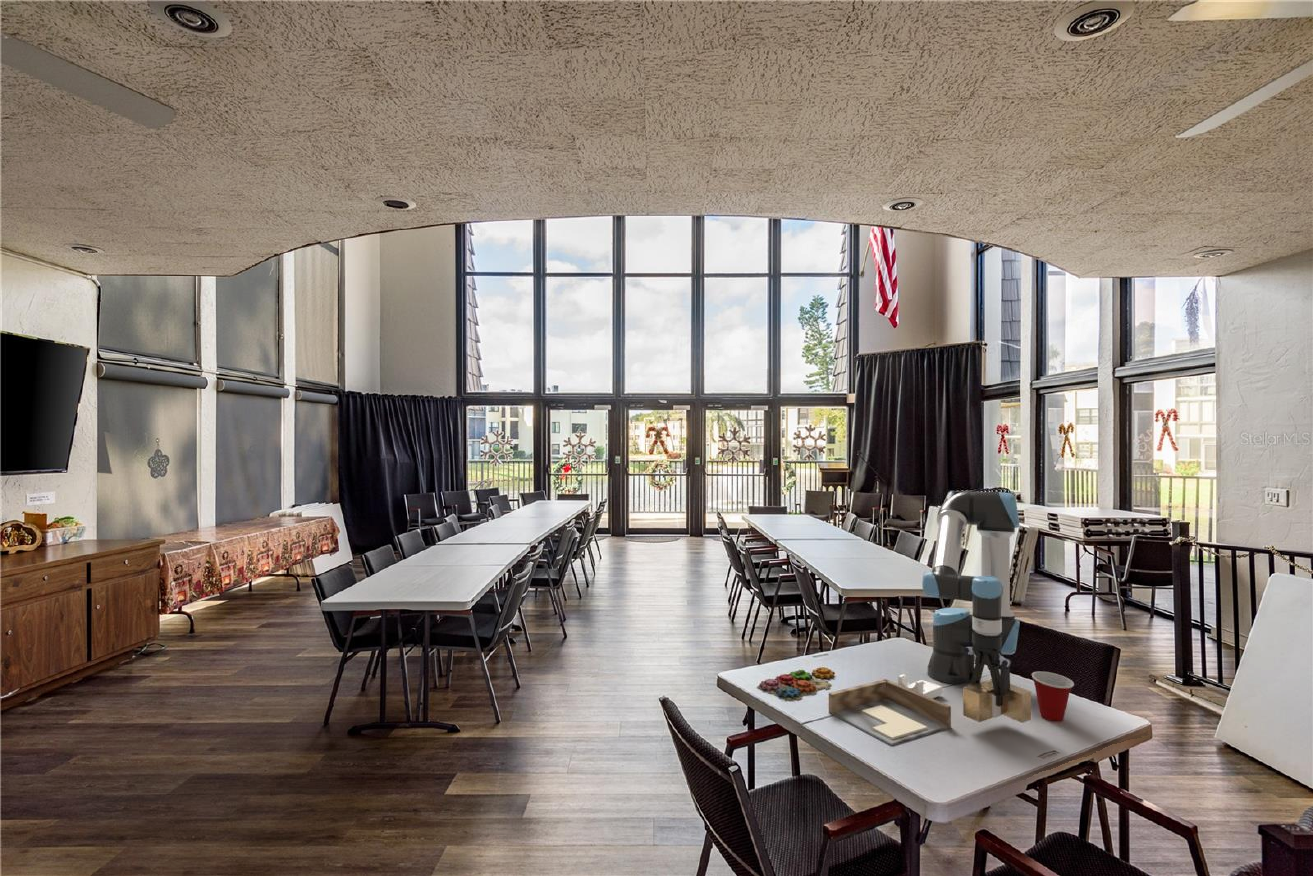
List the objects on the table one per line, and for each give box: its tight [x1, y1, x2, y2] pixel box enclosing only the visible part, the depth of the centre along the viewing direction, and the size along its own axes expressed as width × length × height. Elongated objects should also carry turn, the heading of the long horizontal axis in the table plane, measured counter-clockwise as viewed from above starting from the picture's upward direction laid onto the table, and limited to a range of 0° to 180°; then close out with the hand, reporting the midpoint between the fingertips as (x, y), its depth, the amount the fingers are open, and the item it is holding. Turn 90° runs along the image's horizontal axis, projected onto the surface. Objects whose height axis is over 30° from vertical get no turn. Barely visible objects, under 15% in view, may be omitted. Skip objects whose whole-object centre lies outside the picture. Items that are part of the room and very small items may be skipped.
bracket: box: [897, 674, 943, 699], centre depth 207 cm, size 13×7×8 cm, turn 125°
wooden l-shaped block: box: [962, 678, 1032, 724], centre depth 183 cm, size 14×11×8 cm
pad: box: [862, 705, 927, 740], centre depth 187 cm, size 14×17×1 cm
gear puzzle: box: [756, 666, 836, 702], centre depth 219 cm, size 31×16×4 cm, turn 127°
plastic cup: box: [1031, 670, 1075, 723], centre depth 192 cm, size 11×11×12 cm
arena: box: [828, 678, 952, 747], centre depth 191 cm, size 24×24×6 cm
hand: (987, 712), depth 186 cm, fingers closed on wooden l-shaped block, 5 cm apart
